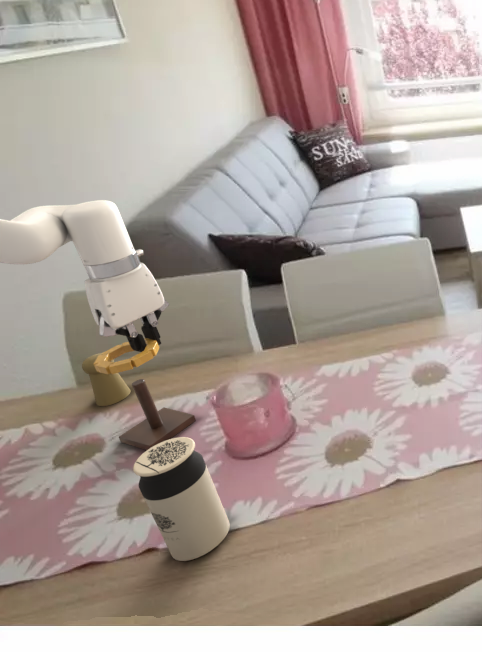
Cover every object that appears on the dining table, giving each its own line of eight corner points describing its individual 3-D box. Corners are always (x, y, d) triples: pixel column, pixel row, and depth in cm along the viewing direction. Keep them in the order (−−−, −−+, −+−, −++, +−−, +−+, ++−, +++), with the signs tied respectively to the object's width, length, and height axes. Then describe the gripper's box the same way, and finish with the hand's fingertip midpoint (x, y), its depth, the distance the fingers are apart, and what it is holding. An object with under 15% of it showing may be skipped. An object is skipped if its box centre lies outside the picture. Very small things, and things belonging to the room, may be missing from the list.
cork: (98, 410, 118) (78, 368, 114) (94, 398, 122) (75, 358, 118) (132, 396, 122) (114, 355, 118) (128, 385, 126) (110, 345, 122)
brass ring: (119, 377, 99) (116, 370, 98) (86, 369, 102) (83, 362, 101) (169, 349, 107) (166, 342, 106) (137, 342, 110) (134, 335, 109)
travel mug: (215, 510, 92) (181, 428, 85) (240, 530, 88) (206, 446, 82) (162, 547, 86) (120, 462, 79) (186, 571, 82) (144, 484, 75)
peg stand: (152, 451, 106) (129, 400, 101) (121, 442, 108) (97, 392, 104) (196, 420, 113) (176, 372, 109) (166, 412, 116) (145, 365, 111)
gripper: (143, 247, 109) (174, 324, 116) (49, 282, 95) (91, 368, 102) (169, 250, 106) (199, 328, 113) (77, 287, 93) (118, 374, 99)
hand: (148, 346), depth 107 cm, fingers closed on brass ring, 1 cm apart
